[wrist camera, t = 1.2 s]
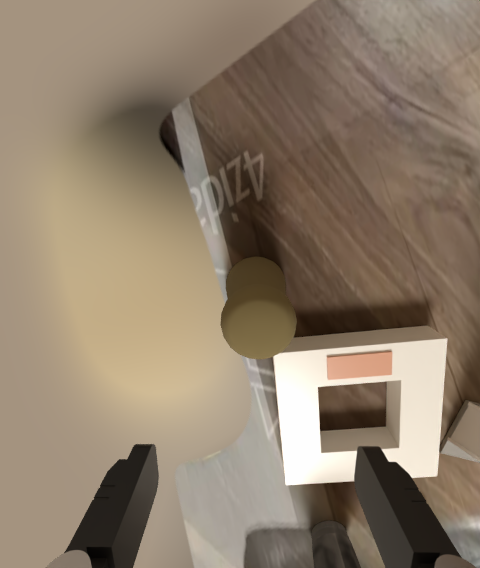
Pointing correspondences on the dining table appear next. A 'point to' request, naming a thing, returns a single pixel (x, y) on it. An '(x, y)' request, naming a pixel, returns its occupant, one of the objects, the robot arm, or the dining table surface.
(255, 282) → the cork
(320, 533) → the beverage cup
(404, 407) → the hole board
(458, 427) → the skyscraper
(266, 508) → the dining table surface
